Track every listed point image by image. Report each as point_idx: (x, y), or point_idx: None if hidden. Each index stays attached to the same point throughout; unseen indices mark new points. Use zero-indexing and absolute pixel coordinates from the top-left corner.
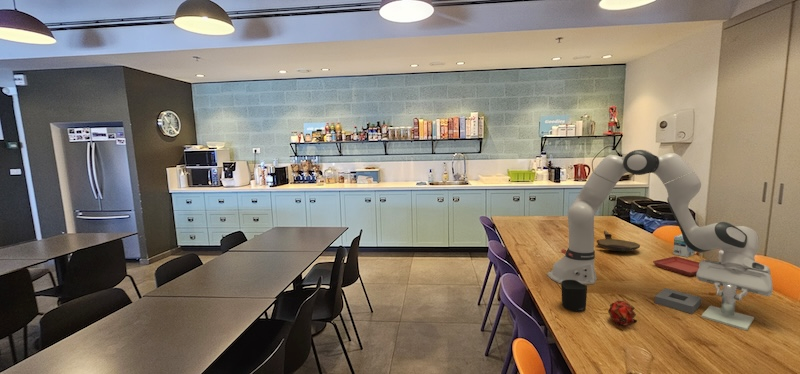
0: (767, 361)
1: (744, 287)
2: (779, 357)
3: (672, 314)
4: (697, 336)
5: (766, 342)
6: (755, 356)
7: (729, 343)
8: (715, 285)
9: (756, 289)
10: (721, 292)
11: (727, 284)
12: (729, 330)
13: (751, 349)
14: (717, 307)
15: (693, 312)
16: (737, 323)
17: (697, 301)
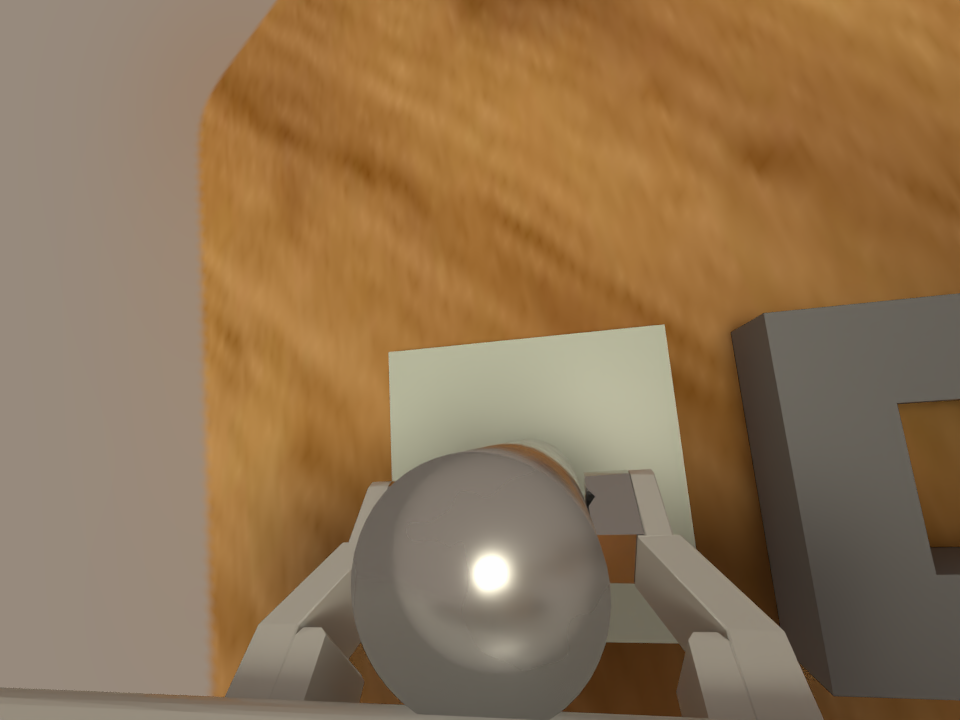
0: (273, 66)
1: (252, 699)
2: (241, 154)
3: (825, 191)
4: (562, 17)
5: (298, 279)
6: (314, 66)
7: (424, 91)
8: (743, 594)
9: (68, 697)
10: (595, 494)
11: (516, 575)
12: (466, 267)
13: (337, 123)
14: (647, 639)
15: (738, 364)
16: (448, 392)
17: (802, 508)
